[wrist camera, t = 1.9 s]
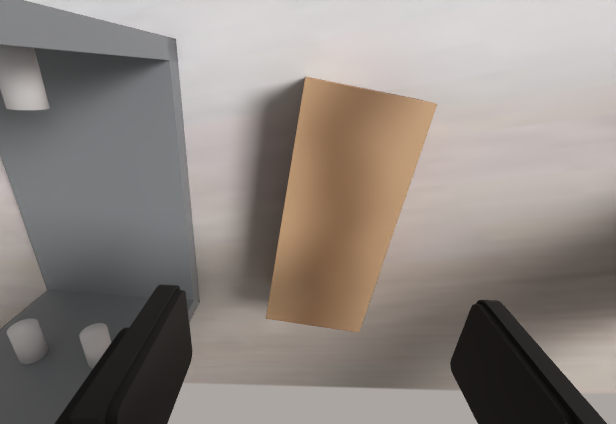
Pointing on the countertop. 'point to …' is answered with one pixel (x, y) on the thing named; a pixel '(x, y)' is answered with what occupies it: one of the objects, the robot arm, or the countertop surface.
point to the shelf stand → (88, 192)
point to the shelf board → (343, 200)
